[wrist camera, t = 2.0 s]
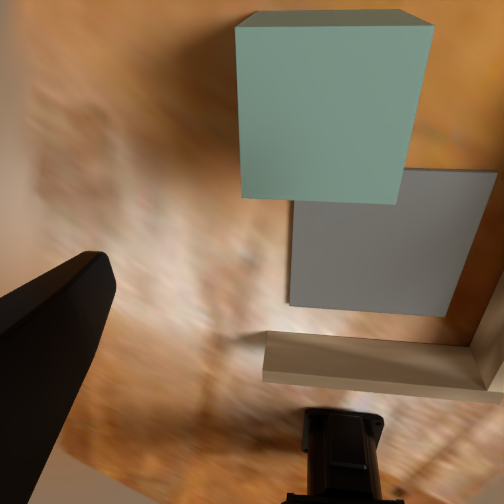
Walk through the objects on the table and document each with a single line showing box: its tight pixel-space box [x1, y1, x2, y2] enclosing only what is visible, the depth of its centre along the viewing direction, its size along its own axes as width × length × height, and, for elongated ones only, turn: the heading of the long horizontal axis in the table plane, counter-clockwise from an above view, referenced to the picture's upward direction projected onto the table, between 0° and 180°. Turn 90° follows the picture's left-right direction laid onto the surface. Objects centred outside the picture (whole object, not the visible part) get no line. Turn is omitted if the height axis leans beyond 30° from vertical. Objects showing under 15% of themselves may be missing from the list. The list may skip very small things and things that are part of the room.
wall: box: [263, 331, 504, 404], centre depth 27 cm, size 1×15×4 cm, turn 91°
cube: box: [235, 9, 435, 205], centre depth 16 cm, size 6×6×6 cm
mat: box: [289, 168, 498, 317], centre depth 23 cm, size 10×10×1 cm
